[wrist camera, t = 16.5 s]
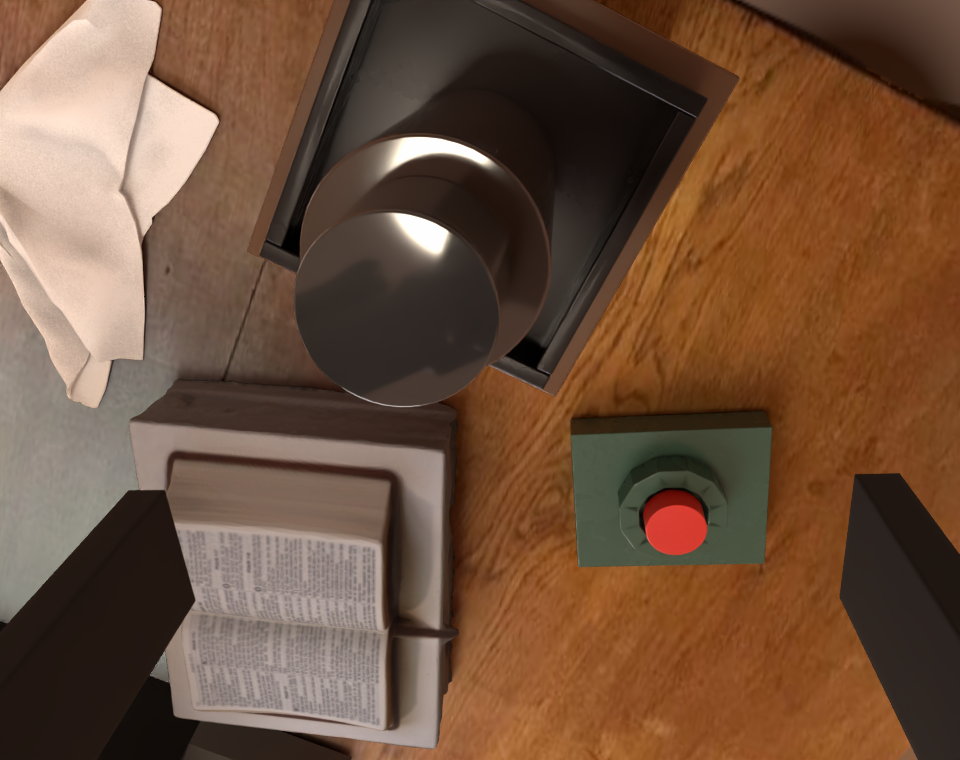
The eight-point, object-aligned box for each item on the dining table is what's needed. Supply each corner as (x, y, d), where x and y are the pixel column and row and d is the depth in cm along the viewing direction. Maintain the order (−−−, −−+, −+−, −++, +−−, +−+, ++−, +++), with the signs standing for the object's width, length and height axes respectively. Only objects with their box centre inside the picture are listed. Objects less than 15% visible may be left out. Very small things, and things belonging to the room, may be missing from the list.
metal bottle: (550, 81, 24) (537, 145, 12) (560, 249, 26) (556, 442, 14) (381, 96, 25) (216, 173, 13) (404, 260, 27) (279, 452, 15)
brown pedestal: (665, 49, 42) (755, 83, 22) (558, 250, 47) (554, 423, 27) (458, -60, 41) (357, -128, 21) (371, 157, 46) (223, 268, 26)
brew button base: (764, 410, 50) (779, 441, 46) (757, 543, 54) (771, 581, 51) (570, 418, 52) (570, 449, 48) (577, 547, 56) (578, 584, 52)
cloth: (16, -75, 43) (-12, -80, 41) (253, 55, 44) (238, 57, 42) (-73, 326, 53) (-98, 338, 51) (121, 419, 55) (104, 435, 53)
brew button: (703, 488, 49) (708, 504, 47) (702, 537, 50) (706, 554, 48) (642, 489, 49) (645, 505, 47) (643, 538, 51) (646, 555, 49)
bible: (529, 420, 52) (522, 504, 43) (441, 714, 63) (421, 829, 54) (177, 329, 52) (97, 395, 43) (152, 641, 63) (84, 745, 54)
